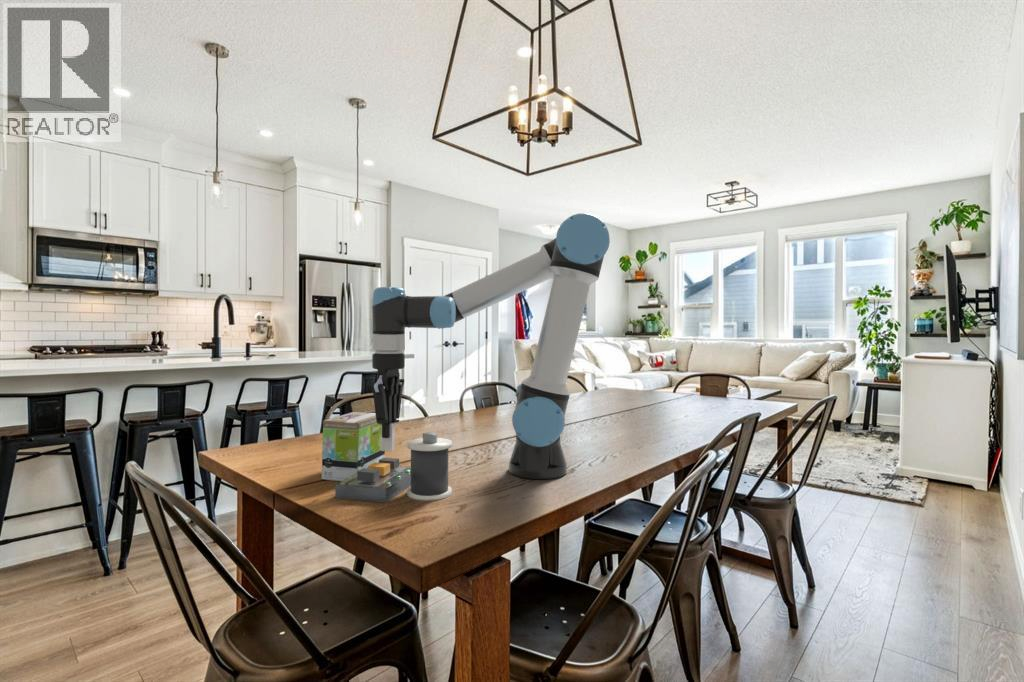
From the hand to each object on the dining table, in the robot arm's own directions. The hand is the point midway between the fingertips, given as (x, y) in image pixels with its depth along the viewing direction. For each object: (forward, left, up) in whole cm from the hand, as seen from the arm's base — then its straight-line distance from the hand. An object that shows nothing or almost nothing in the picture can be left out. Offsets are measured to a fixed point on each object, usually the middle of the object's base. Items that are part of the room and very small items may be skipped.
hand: (388, 450), depth 124 cm
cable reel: (-12, +5, -8) cm, 15 cm away
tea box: (+12, -5, -8) cm, 16 cm away
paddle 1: (0, +10, -3) cm, 10 cm away
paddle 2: (0, 0, -3) cm, 3 cm away
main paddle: (0, +5, -3) cm, 6 cm away
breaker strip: (0, +5, -8) cm, 9 cm away
